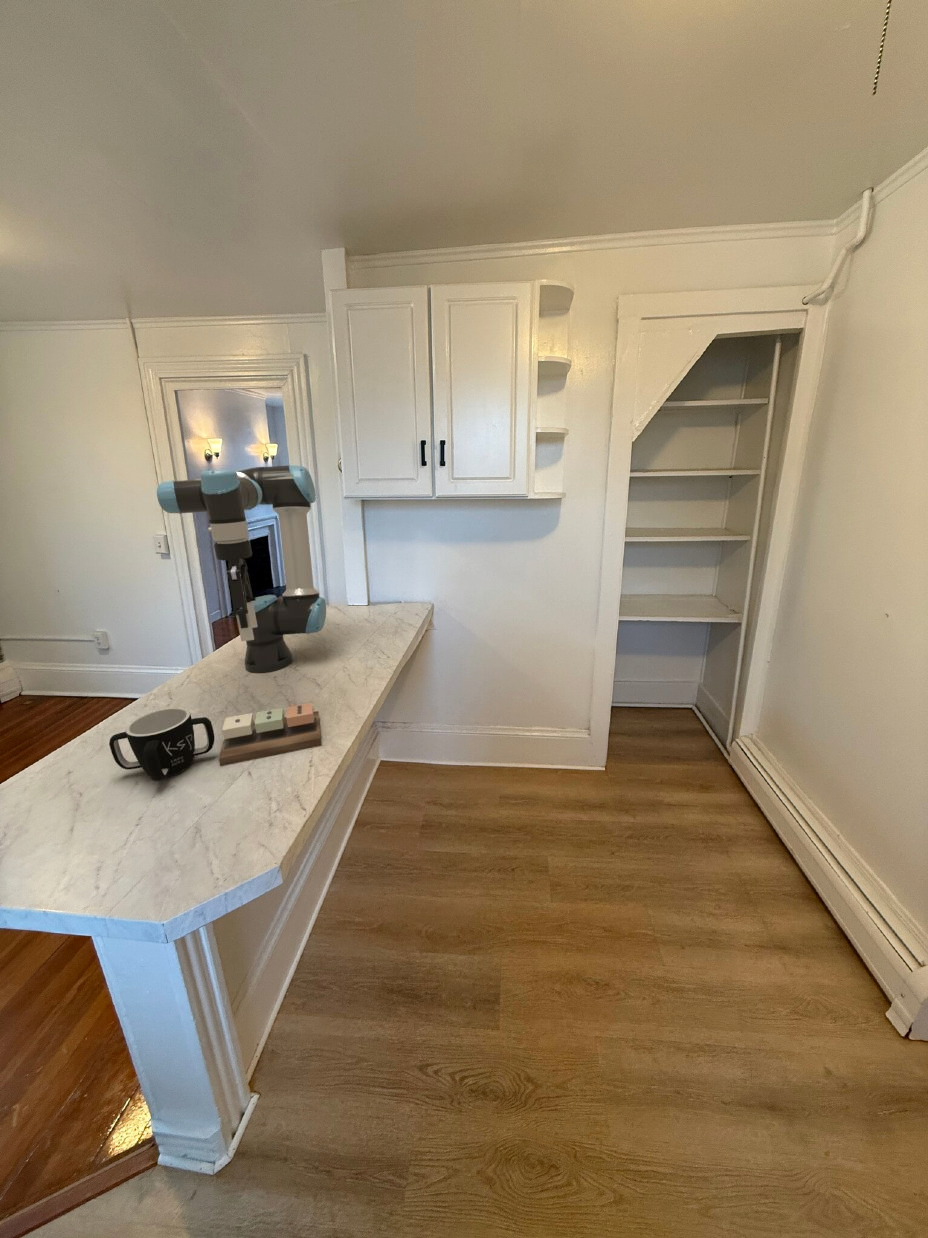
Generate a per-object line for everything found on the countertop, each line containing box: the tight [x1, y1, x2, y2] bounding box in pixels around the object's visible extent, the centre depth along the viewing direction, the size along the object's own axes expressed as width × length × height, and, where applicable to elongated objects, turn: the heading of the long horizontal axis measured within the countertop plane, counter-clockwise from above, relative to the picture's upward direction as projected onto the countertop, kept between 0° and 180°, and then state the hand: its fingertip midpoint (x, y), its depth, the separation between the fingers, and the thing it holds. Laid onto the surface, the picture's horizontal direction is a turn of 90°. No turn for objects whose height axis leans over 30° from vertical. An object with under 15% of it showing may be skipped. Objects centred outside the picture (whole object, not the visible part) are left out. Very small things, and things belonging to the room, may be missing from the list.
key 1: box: [221, 712, 255, 740], centre depth 112 cm, size 6×6×3 cm
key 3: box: [285, 702, 315, 727], centre depth 116 cm, size 6×6×3 cm
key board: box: [218, 710, 322, 767], centre depth 116 cm, size 14×22×2 cm, turn 108°
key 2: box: [254, 707, 285, 733], centre depth 114 cm, size 6×6×3 cm
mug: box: [109, 707, 215, 782], centre depth 105 cm, size 16×16×12 cm
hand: (249, 633), depth 115 cm, fingers open, 9 cm apart
